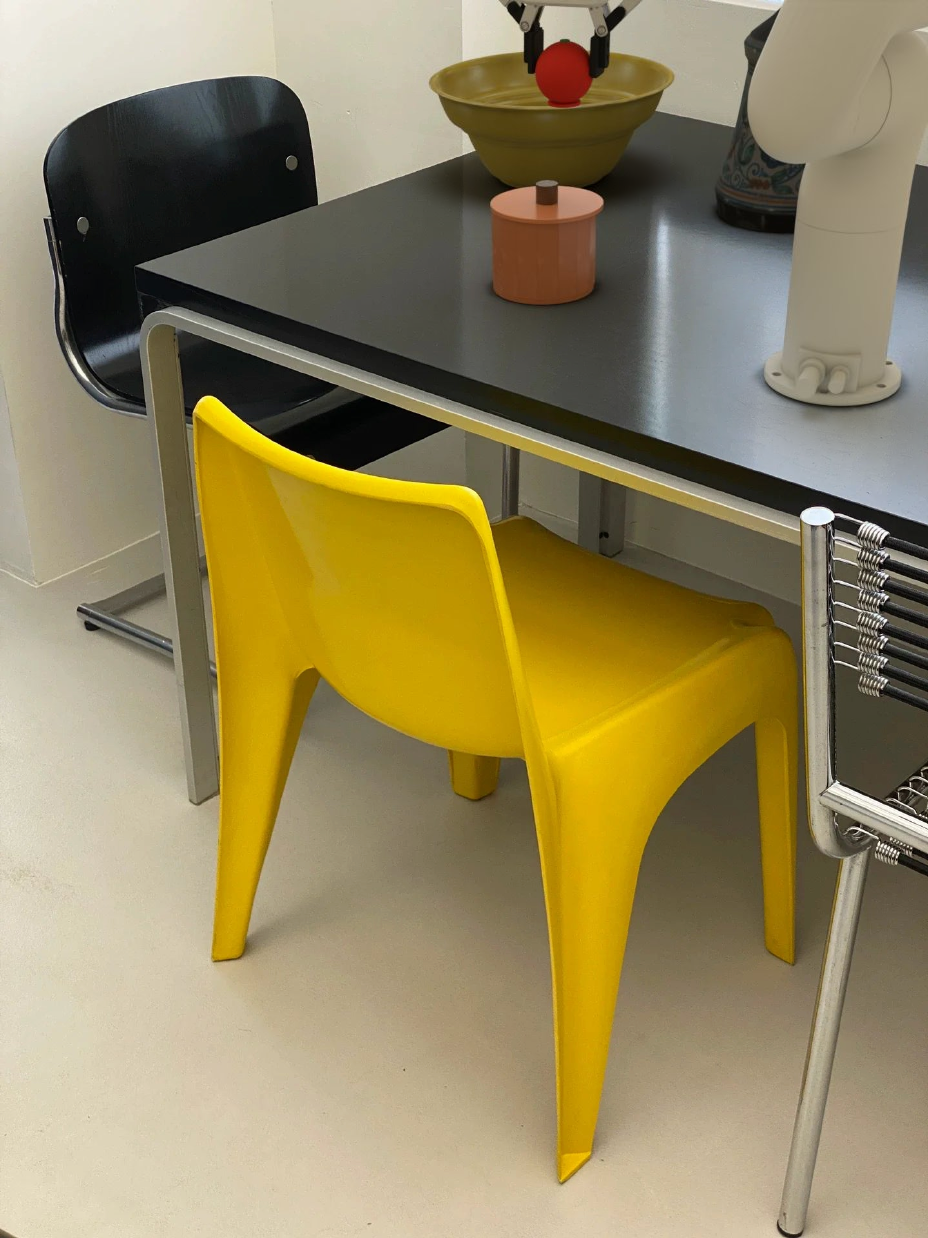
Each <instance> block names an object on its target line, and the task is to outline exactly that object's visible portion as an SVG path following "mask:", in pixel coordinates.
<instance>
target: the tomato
mask: <svg viewBox="0 0 928 1238" xmlns="http://www.w3.org/2000/svg"><path fill="white" fill-rule="evenodd" d="M586 50H587V49H586V48H585V47H583V46H582V45H581V44H579V43H578V42H575V41H571V40H570V39H569V38H560V39H559V41H555V42H553V43H552V44H550V45H548V46H547V47H546V48H544V51H543V52H542V53H541V55H540V57H539V59H538V61H537V64H536V68H535V78H536V82H537V85H538V87H539V89H540V91H541V92H542V94H543V95H544V96H545V97H546V98H548V99H549V100H548V105H549V106H551V107H556V108H571V107H576V106H579V105H580V104H581V100H580V98H582V97H583V96H584V95H585V94H586V93H587V91H588V90H589V88H590V86H591V84H592V81H593V78H591V77H590V76H589V69H590V55H589V53H588V52H587V51H586Z"/></svg>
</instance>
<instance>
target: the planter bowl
mask: <svg viewBox="0 0 928 1238" xmlns="http://www.w3.org/2000/svg"><path fill="white" fill-rule="evenodd" d="M585 50H586V51H587V52H588V53H589V55H590V50H587V49H585ZM674 81H675V74H674V72H673V70H672V69H671V68H669V67H668V66H667V65H664V64H663V63H661V62H658V61H656V60H653V59H651V58H650V59H649V58H645V57H642V56H638V55H632V54H625V53H620V52H613V51H610V57H609V66H608V67H607V68H605V70H604V73H603V74H601V75H600V76H599V77H598V78H593V81H592V84H591V86H590V88H589V90H588V91H587V93H586V94H585V95H584V96H583V97H582V98H580V100H581V104H580V105H579V106H576V107H571V108H556V107H551V106H549V105H548V100H549V99H548V98H546V97H545V96H544V95H543V94H542V92H541V91H540V89H539V87H538V85H537V82H536V78H535V73H534V74H528V63H524V51H516V52H515V51H514V52H505V53H499V54H492V55H486V56H481V57H476V58H471V59H467V60H464V61H463V60H462V61H460V62H457V63H453V64H452V65H449V66H446V67H444V68H442V69H440V70H438V71H437V72H436V73H434V74H432V76H431V77H430V78H429V79H428V86H429V88H430V90H432V91H433V92H434V93H435V94H437V96H438V99H439V102H440V104H441V107H442V109H443V111H444V113H445V115H446V117H447V118H448V120H449V121H450V123H452V124H453V125H454V126H456V127H458V128H459V129H460V130H461V131H462V132H464V133H465V134H467V136H468V139H469V141H470V143H471V145H472V146H473V149H474V150H475V152H476V154H477V156H478V158H479V159H480V161H481V162H482V163H483V165H484V167H485V168H486V169H487V171H488V172H489V173H490V175H492V176H494V177H495V178H496V179H499V180H500V181H501V182H502V183H503V184H505V185H507V186H510V187H512V188H515V189H519V188H525V187H534V186H536V183H537V182H539V181H544V180H551V181H556V182H558V186H565V187H574V188H580V189H581V188H584V187H587V186H590V185H593V184H596V183H597V182H599V181H600V180H601V179H603V178H604V177H606V175H608V174H610V172H612V171H613V170H614V169H615V167H616V165H617V164H618V162H619V161H620V160H621V158H622V156H623V154H624V153H625V151H626V149H627V147H628V146H629V143H630V141H631V139H632V137H633V134H634V133H635V131H636V130H637V129H638V128H640V126H642V125H643V124H645V123H646V122H648V120H650V119H651V118H652V117H653V115H654V114H655V112H656V111H657V109H658V107H659V104H660V102H661V99H662V97H663V94H664V91H665V90H666V89H667V88H669V87H670V86H671V85H672V84H673V83H674Z"/></svg>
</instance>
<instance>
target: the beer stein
mask: <svg viewBox="0 0 928 1238" xmlns="http://www.w3.org/2000/svg"><path fill="white" fill-rule="evenodd" d="M781 7H782V5H781V6H780V7H779V8H778V9H777V10H776V11H775V12H774V13H773V14H771V16H770V17H768V18H766V19H765V20H764V21H763V22H761V23H760V24H759V25H757V26H756V27H754V29H752V30H751V31H750V33H749V34H747V36H746V37H745V39H744V41H743V49H744V56H745V57H746V59H747V71H746V75H745V81H744V85H743V90H742V96H741V99H740V105H739V109H738V114H737V118H736V122H735V126H734V131H733V134H732V137H731V142H730V146H729V149H728V152H727V156H726V158H725V161H724V164H723V166H722V169H721V171H720V173H719V175H718V176H717V178H716V180H715V184H714V193H715V199H716V206H717V213H718V218H720V219H721V220H723V221H725V222H726V223H729V224H730V225H732V226H734V227H739V228H743V229H747V230H751V231H756V232H765V233H778V234H779V233H780V234H784V233H785V234H786V233H787V234H788V233H789V234H790V233H794V232H795V222H796V213H797V203H798V195H799V189H800V184H801V179H802V175H803V172H804V168H805V165H806V163H803V164H791V163H785V162H782V161H779V160H776V159H774V158H772V157H771V156H769V155H768V154H767V153H765V152H764V151H763V150H762V149H761V147H760V146H759V145H758V143H757V142H756V140H755V138H754V136H753V134H752V132H751V128H750V125H749V119H748V109H747V104H748V93H749V88H750V84H751V80H752V76H753V73H754V70H755V67H756V65H757V62H758V60H759V57H760V55H761V53H762V50H763V48H764V46H765V43H766V41H767V39H768V37H769V34H770V32H771V30H772V27H773V25H774V23H775V20H776V18H777V16H778V13H779V11H780V9H781Z"/></svg>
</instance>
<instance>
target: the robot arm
mask: <svg viewBox="0 0 928 1238" xmlns="http://www.w3.org/2000/svg"><path fill="white" fill-rule="evenodd" d="M498 1H499V2H500V4H501V5H502V6H503V7H505V9H506V11H507V13H508V14H509V15H510V16H511V17H512V19H513V20H514V21H515V22H516V24H518V26H519V27H518V28H519V30H520V31H521V32H522V33H523V52H524V63H528V74H534V73H535V68H536V64H537V61H538V59H539V57H540V55H541V53H542V52H543V51H544V50H545V30H544V29H543V26H541V22H540V21H541V18H542V15H543V13H544V9H545V7H565V8H585V9H588V12H589V15H590V18H591V21H592V24H593V28H594V31H593V32H594V33H593V35H592V36H590V39H589V51H590V69H589V76H590V77H591V78H598V77H599V76H600V75H601V74H603V73H604V70H605V68H607V67H608V66H609V57H610V52H611V32H612V31H614V29H615V28H616V27H617V26H618V25H619V24H620V23H621V22H622V21H623V20H624V19H625V18H626V17H627V16H628V15H629V14H630V13H631V12H632V11H633V10H634V9H635V8H636V7H638V5H639V4H640V3H641V2H643V0H622V1H621V2H620V3H619V4H618V5H617V6H616V7H615V8H614V9H613V10H611V7H610V5H609V4H610V3H609V0H498ZM781 6H782V7H781ZM781 6H780V7H781V9H780V11H779V13H778V16H777V18H776V20H775V23H774V25H773V27H772V30H771V32H770V34H769V37H768V39H767V41H766V43H765V46H764V48H763V50H762V53H761V55H760V57H759V60H758V62H757V65H756V67H755V70H754V73H753V76H752V80H751V84H750V88H749V93H748V104H747V109H748V119H749V125H750V128H751V132H752V134H753V136H754V138H755V140H756V142H757V143H758V145H759V146H760V147H761V149H762V150H763V151H764V152H765V153H767V154H768V155H769V156H771V157H772V158H774V159H776V160H779V161H782V162H785V163H791V164H803V163H806V165H805V168H804V172H803V175H802V179H801V184H800V189H799V195H798V203H797V213H796V222H795V232H793V233H794V234H793V244H792V245H793V246H792V252H791V253H792V255H791V264H790V274H789V275H790V276H789V285H788V295H787V296H788V297H787V303H786V305H787V306H786V314H785V315H786V316H785V327H784V337H783V347H782V349H781V350H778V351H777V352H775V353H774V354H772V355H770V357H768V359H766V361H765V363H764V367H763V368H764V369H763V378H764V381H765V382H766V383H767V385H768V386H770V388H772V389H773V390H775V391H776V392H777V393H779V394H782V395H783V396H785V397H788V398H790V399H793V400H797V401H800V402H804V403H809V404H814V405H822V406H834V407H835V406H836V407H847V406H860V405H868V404H871V403H876V402H879V401H882V400H884V399H887V398H889V397H890V396H893V394H895V393H896V392H897V391H898V390H899V389H900V386H901V382H902V370H901V368H900V367H899V365H898V364H897V363H896V362H895V361H894V360H893V359H891V358H890V357H888V349H889V342H890V336H891V330H892V322H893V315H894V309H895V300H896V294H897V287H898V286H897V285H898V280H899V279H898V278H899V273H900V272H899V271H900V266H901V265H900V264H901V258H902V251H903V243H904V236H905V229H906V222H907V218H908V210H909V204H910V198H911V192H912V191H911V190H912V186H913V179H914V174H915V168H916V165H917V161H918V156H919V152H920V149H921V146H922V142H923V138H924V135H925V134H926V129H927V126H928V43H926V41H925V40H924V38H923V37H922V36H921V35H919V33H918V32H916V31H917V30H922V29H925V28H928V0H783V2H782V4H781Z"/></svg>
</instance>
